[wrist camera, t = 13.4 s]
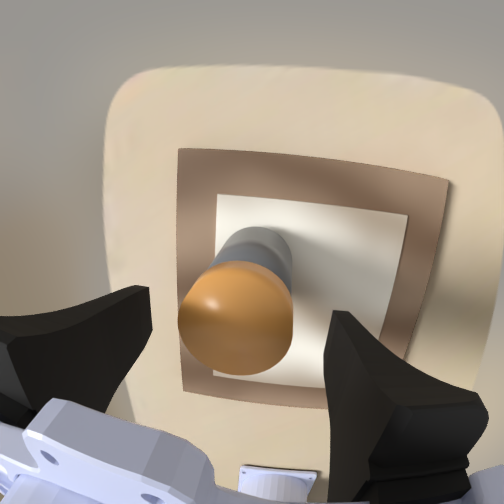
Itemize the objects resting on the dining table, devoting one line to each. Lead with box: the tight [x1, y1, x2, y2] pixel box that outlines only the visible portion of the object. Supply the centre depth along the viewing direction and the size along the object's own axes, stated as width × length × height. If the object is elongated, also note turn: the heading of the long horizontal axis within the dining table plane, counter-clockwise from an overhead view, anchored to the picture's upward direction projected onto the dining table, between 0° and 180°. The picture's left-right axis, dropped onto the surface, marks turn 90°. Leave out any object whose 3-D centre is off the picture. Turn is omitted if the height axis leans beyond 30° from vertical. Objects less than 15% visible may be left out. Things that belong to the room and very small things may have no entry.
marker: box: [178, 226, 293, 376], centre depth 15 cm, size 4×4×8 cm
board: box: [176, 148, 449, 409], centre depth 20 cm, size 18×16×1 cm
